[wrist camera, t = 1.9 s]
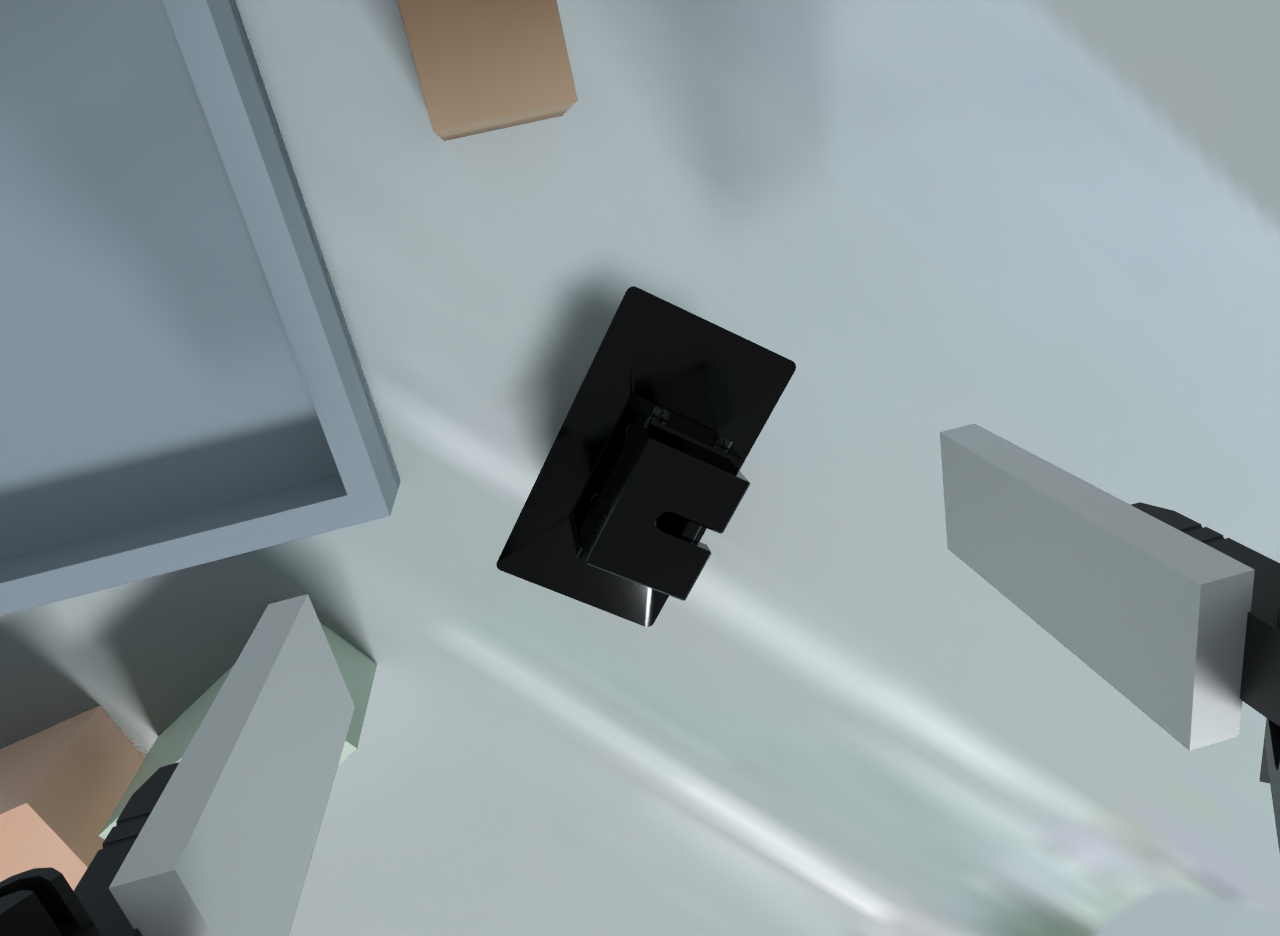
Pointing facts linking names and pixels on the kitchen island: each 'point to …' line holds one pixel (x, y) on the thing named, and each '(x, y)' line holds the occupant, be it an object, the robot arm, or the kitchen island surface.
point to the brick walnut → (488, 62)
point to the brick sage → (184, 728)
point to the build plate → (646, 461)
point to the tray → (161, 309)
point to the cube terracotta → (62, 794)
